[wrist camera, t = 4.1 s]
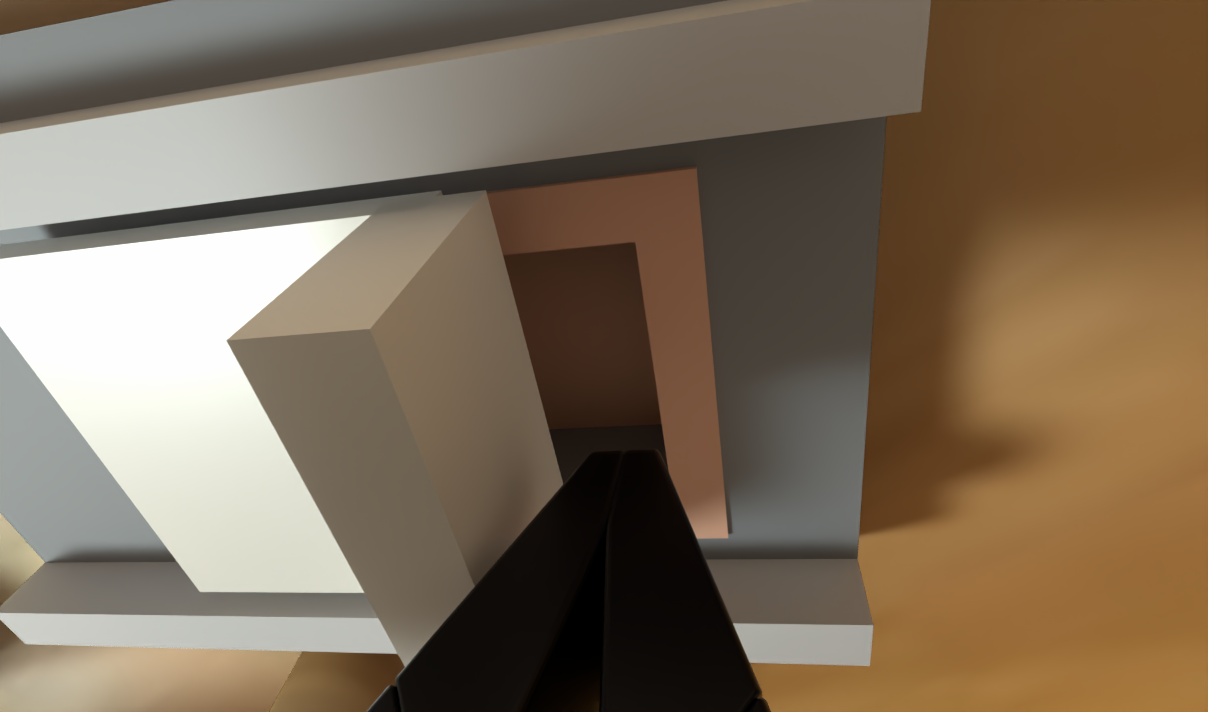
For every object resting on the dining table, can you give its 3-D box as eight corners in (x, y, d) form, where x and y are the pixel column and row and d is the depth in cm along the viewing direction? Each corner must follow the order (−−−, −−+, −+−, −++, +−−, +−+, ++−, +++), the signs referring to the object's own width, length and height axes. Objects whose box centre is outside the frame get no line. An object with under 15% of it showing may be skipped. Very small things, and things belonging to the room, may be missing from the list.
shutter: (588, 563, 11) (549, 773, 8) (220, 564, 12) (83, 743, 9) (490, 184, 7) (369, 328, 5) (-4, 245, 9) (-315, 383, 6)
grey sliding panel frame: (834, 542, 13) (866, 698, 10) (159, 548, 16) (52, 670, 14) (857, -130, 7) (946, -162, 5) (-198, 80, 10) (-506, 132, 8)
